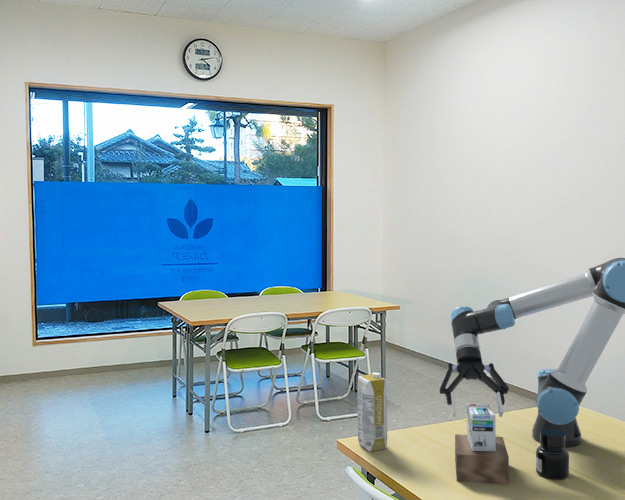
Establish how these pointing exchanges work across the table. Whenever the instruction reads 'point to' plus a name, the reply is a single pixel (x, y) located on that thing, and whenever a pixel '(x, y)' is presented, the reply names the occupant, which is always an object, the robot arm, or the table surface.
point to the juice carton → (372, 411)
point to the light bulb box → (481, 427)
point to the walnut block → (481, 462)
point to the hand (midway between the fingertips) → (477, 414)
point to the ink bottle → (552, 455)
